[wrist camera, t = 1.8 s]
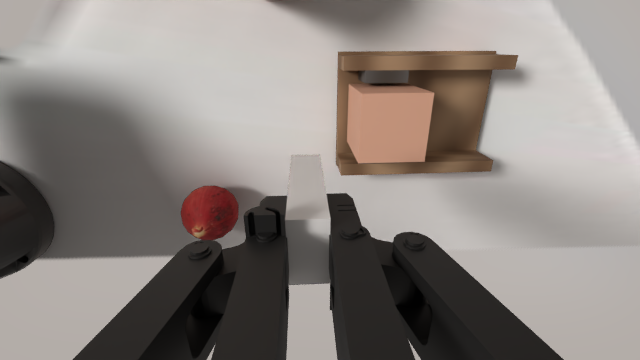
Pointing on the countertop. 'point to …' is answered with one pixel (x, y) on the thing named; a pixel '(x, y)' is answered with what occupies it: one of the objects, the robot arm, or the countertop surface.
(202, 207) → the onion
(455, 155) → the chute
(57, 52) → the countertop surface
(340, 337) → the robot arm
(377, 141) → the block
